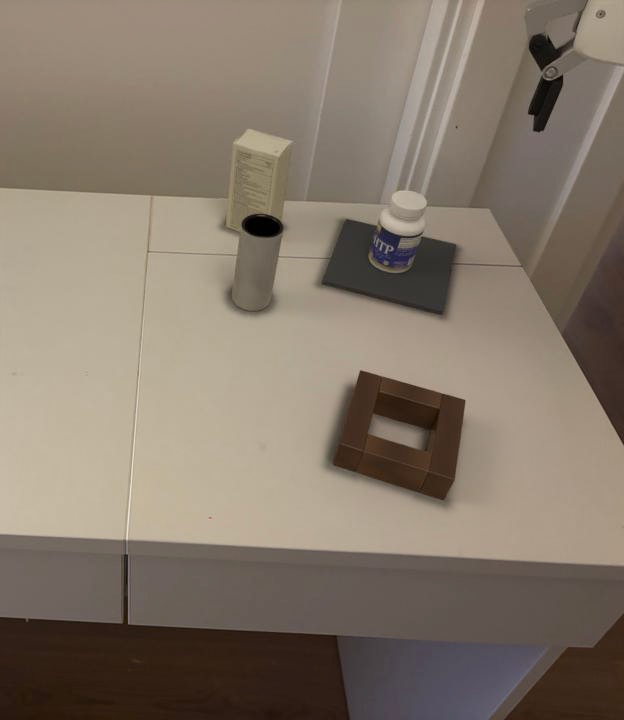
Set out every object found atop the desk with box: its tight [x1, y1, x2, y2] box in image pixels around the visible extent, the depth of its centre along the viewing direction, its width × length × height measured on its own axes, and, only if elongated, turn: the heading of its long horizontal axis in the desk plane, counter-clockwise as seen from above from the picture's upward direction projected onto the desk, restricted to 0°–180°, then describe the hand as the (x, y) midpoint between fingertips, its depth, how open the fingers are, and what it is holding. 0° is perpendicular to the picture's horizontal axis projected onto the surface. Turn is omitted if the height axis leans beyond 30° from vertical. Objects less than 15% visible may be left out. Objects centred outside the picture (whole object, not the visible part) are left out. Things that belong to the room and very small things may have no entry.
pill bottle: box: [369, 189, 428, 273], centre depth 88 cm, size 5×5×9 cm
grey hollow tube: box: [231, 214, 285, 312], centre depth 83 cm, size 4×4×10 cm
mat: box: [321, 218, 457, 316], centre depth 92 cm, size 14×14×1 cm
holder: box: [332, 370, 467, 501], centre depth 71 cm, size 10×10×3 cm
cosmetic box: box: [225, 128, 294, 233], centre depth 93 cm, size 6×4×12 cm
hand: (604, 137), depth 57 cm, fingers open, 9 cm apart
